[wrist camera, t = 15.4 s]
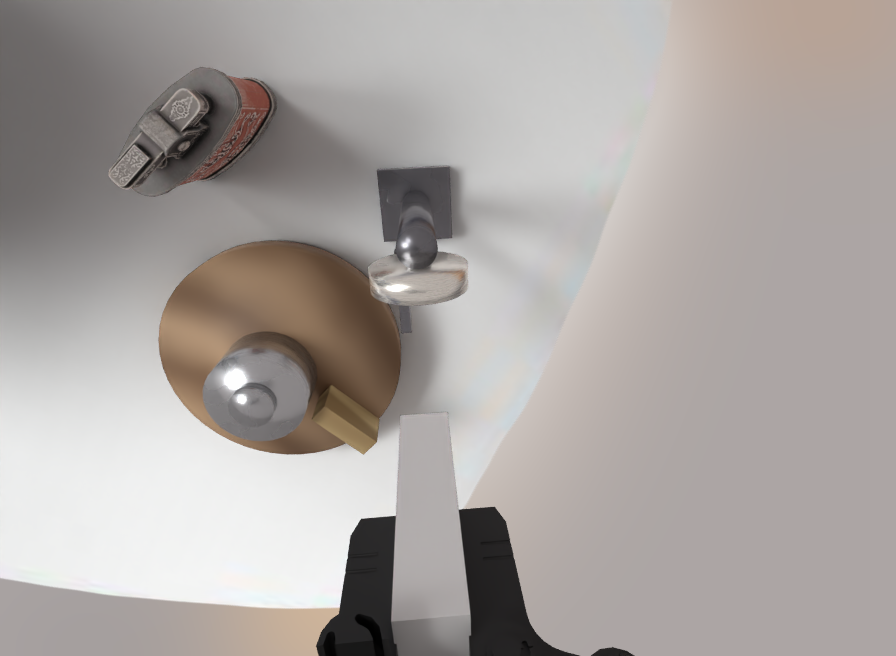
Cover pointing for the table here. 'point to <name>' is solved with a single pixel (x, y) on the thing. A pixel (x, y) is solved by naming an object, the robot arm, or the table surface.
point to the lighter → (194, 132)
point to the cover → (261, 386)
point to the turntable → (295, 315)
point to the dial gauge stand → (416, 241)
